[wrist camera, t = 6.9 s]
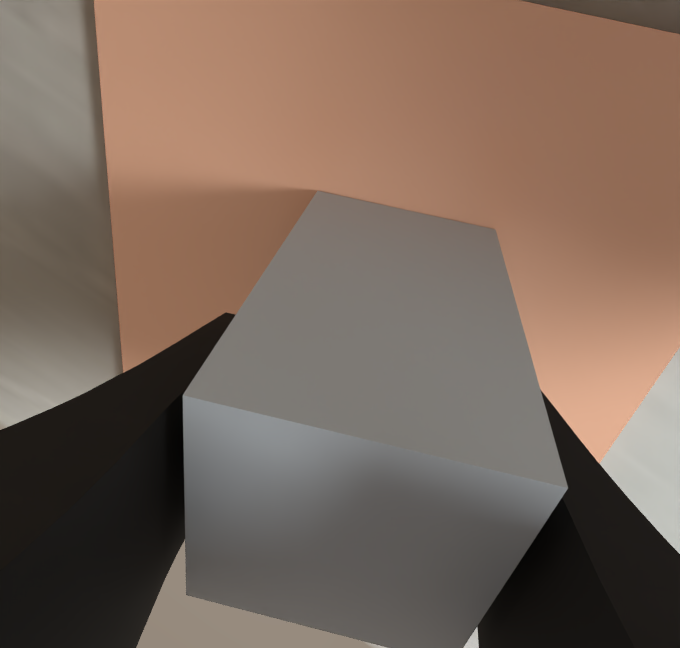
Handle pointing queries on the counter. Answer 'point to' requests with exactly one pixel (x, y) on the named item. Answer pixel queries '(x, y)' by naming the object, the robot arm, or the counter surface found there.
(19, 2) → the counter surface
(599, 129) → the terracotta tile
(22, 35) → the counter surface
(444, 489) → the slate block
